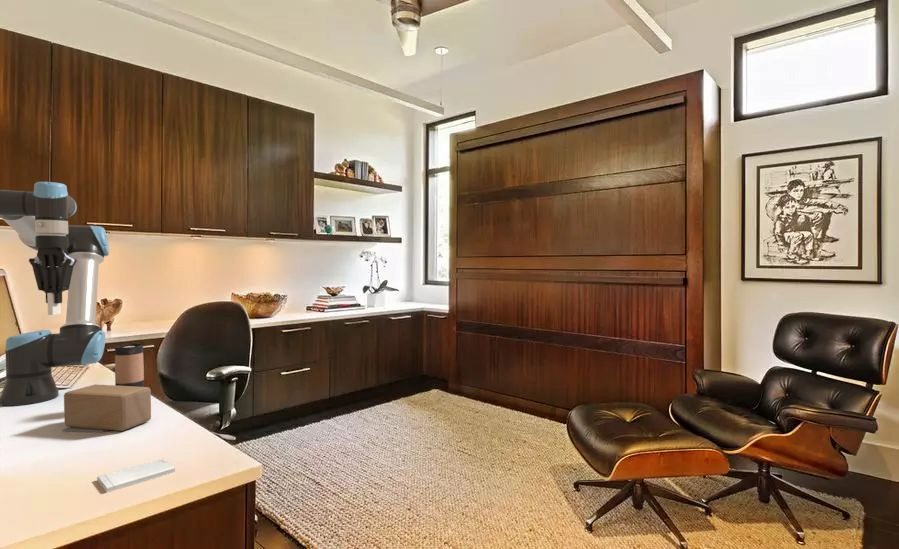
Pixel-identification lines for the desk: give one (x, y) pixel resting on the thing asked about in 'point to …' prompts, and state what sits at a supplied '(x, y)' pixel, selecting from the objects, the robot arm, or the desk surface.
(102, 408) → the block
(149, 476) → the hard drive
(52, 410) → the desk surface
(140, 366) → the travel mug
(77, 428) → the mat
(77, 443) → the desk surface
